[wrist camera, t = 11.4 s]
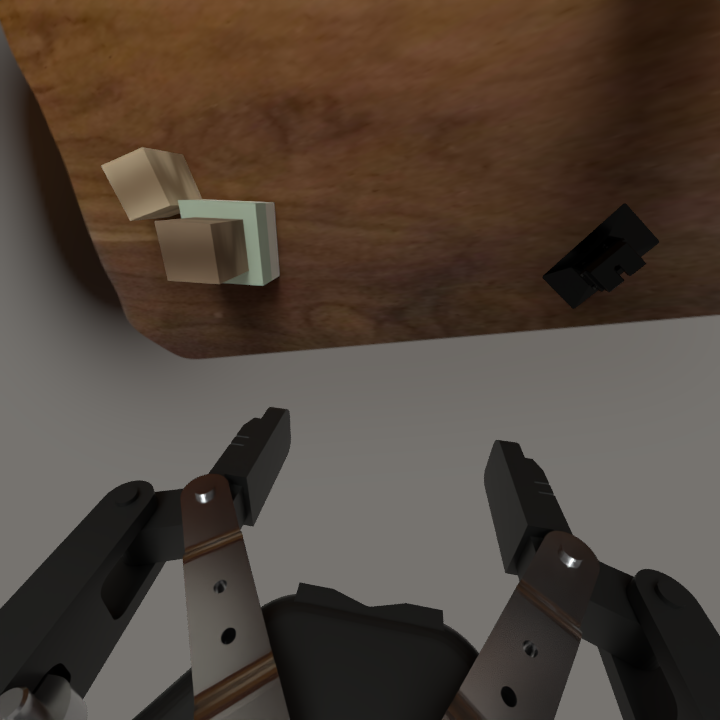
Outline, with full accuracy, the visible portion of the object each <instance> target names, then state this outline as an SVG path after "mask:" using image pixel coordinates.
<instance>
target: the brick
mask: <svg viewBox="0 0 720 720" xmlns="http://www.w3.org/2000/svg"><path fill="white" fill-rule="evenodd" d="M101 167H102V169H103V170H104V172H105V174H106V176H107V178H108V180H109V182H110V184H111V186H112V187H113V189H114V191H115V193H116V195H117V197H118V199H119V201H120V202H121V204H122V206H123V208H124V210H125V212H126V214H127V216H128V217H129V219H130V221H133V220H144V219H155V218H166V217H171V216H173V215H176V214H179V213H180V209H179V203H178V200H202V197H201V195H200V193H199V191H198V188H197V186H196V184H195V181H194V179H193V177H192V175H191V172H190V170H189V168H188V165H187V163H186V161H185V159H184V156H183V154H177V153H171V152H166V151H160V150H155V149H149V148H143V147H142V148H140V149H138V150H135V151H133V152H131V153H129V154H126V155H124V156H122V157H120V158H118V159H115V160H113V161H111V162H109V163H106V164H104V165H102V166H101Z"/></svg>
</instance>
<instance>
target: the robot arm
mask: <svg viewBox="0 0 720 720" xmlns="http://www.w3.org/2000/svg"><path fill="white" fill-rule="evenodd" d="M290 443H291V434H290V415H289V410H287V409H281V408H274V407H269V408H268V409H267V411H266V412H265V414H264V415H263V417H262V418H261V419H260V418H253V419H252V420H250V421H249V422H248V423H246V424H245V425H243V427H242V428H241V430H240V431H239V432H238V434H237V436H236V437H235V438H234V439H233V440H232V442H231V444H230V445H229V446H228V447H227V449H226V450H225V452H224V453H223V454H222V456H221V457H220V458H219V460H218V461H217V463H216V464H215V465H214V467H213V468H212V470H211V471H210V472H209V474H206V475H202V476H199V477H197V478H195V479H193V480H192V481H190V482H189V483H188V484H187V485H186V486H185V487H184V488H183V489H178V490H169V491H160V492H154V489H153V486H152V485H151V484H150V483H148V482H146V481H131V482H128V483H125V484H122V485H120V486H118V487H116V488H115V489H113V490H112V491H110V492H109V493H108V494H107V495H106V496H105V497H104V498H103V499H102V500H101V501H100V502H99V503H98V504H97V505H96V506H95V508H94V509H93V510H92V511H91V512H90V513H89V514H88V515H87V516H86V517H85V518H84V520H82V521H81V523H80V524H79V525H78V526H77V527H76V528H75V529H74V530H73V531H72V532H71V533H70V534H69V536H68V537H67V538H66V539H65V540H64V541H63V542H62V543H61V544H60V545H59V546H58V547H57V548H56V550H55V551H54V552H53V553H52V554H51V555H50V556H49V557H48V558H47V559H46V560H45V561H44V562H43V563H42V565H41V566H40V567H39V568H38V569H37V570H36V571H35V572H34V573H33V574H32V575H31V576H30V577H29V579H28V580H27V581H26V582H25V583H24V584H23V585H22V586H21V587H20V588H19V589H18V590H17V592H16V593H15V594H14V595H13V596H12V597H11V598H10V599H9V600H8V601H7V602H6V603H5V604H4V606H3V607H2V608H1V609H0V720H87V707H86V704H85V702H84V701H83V698H84V697H85V695H86V693H87V692H88V690H89V688H90V687H91V685H92V683H93V682H94V680H95V678H96V677H97V675H98V673H99V672H100V670H101V668H102V667H103V665H104V663H105V662H106V660H107V658H108V657H109V655H110V653H111V652H112V650H113V649H114V647H115V645H116V643H117V642H118V640H119V639H120V637H121V635H122V633H123V632H124V630H125V629H126V627H127V625H128V624H129V622H130V620H131V619H132V617H133V615H134V614H135V612H136V610H137V609H138V607H139V605H140V604H141V602H142V600H143V599H144V597H145V595H146V594H147V592H148V590H149V589H150V587H151V586H152V584H153V582H154V581H155V579H156V577H157V576H158V574H159V572H160V571H161V569H162V567H163V565H164V564H165V562H166V561H170V560H177V559H183V570H184V581H185V592H186V606H187V617H188V630H189V642H190V655H191V668H190V669H189V670H188V671H187V672H186V673H185V674H183V675H182V676H181V677H180V678H179V679H178V680H177V681H176V682H174V683H173V684H172V685H171V686H170V687H169V688H167V689H166V690H165V691H164V692H163V693H162V694H161V695H160V696H158V697H157V698H156V699H155V700H154V701H153V702H152V703H151V704H149V705H148V706H147V707H146V708H145V709H144V710H143V711H141V712H140V713H139V714H138V715H137V716H136V717H135V718H134V719H132V720H554V718H555V715H556V712H557V709H558V706H559V703H560V700H561V697H562V694H563V691H564V688H565V685H566V682H567V679H568V676H569V673H570V670H571V668H572V664H573V661H574V659H575V656H576V653H577V650H578V647H579V644H580V641H581V638H582V639H584V640H586V641H588V642H590V643H592V644H594V645H596V646H597V647H598V649H599V652H600V655H601V657H602V661H603V664H604V666H605V669H606V672H607V675H608V678H609V680H610V683H611V686H612V689H613V692H614V695H615V697H616V700H617V703H618V706H619V709H620V712H621V715H622V717H623V720H720V636H719V634H718V632H717V631H716V629H715V628H714V626H713V625H712V623H711V622H710V620H709V618H708V617H707V615H706V614H705V612H704V611H703V609H702V607H701V606H700V604H699V603H698V601H697V600H696V599H695V597H694V596H693V595H692V594H691V593H690V592H689V591H688V590H687V589H686V588H685V587H684V586H682V585H681V584H680V583H679V582H677V581H676V580H674V579H673V578H671V577H669V576H667V575H666V574H664V573H661V572H659V571H655V570H651V569H643V570H640V571H639V572H638V573H637V574H636V575H635V577H633V576H630V575H629V574H626V573H624V572H622V571H619V570H617V569H615V568H613V567H610V566H608V565H606V564H604V563H602V562H600V561H598V559H597V557H596V555H595V554H594V553H593V551H592V550H591V549H590V548H589V547H588V546H587V545H586V544H585V543H584V542H583V541H582V540H580V539H579V538H577V537H575V536H574V535H573V534H572V532H571V530H570V528H569V526H568V523H567V521H566V519H565V517H564V515H563V513H562V510H561V508H560V506H559V504H558V502H557V500H556V497H555V496H554V495H553V491H552V489H551V487H550V485H549V482H548V480H547V478H546V476H545V473H544V471H543V470H542V469H541V468H540V467H539V466H538V465H537V463H536V462H535V461H534V460H533V459H528V458H525V457H524V455H523V452H522V450H521V447H520V445H519V444H518V443H515V442H508V441H501V440H496V441H495V442H494V444H493V448H492V450H491V453H490V456H489V459H488V463H487V466H486V469H485V474H484V485H485V489H486V493H487V498H488V502H489V506H490V510H491V514H492V519H493V523H494V527H495V531H496V536H497V540H498V543H499V548H500V552H501V556H502V561H503V565H504V569H505V573H508V574H514V575H518V577H519V581H520V582H519V584H518V585H517V587H516V589H515V590H514V592H513V594H512V596H511V598H510V600H509V601H508V603H507V605H506V607H505V608H504V610H503V612H502V614H501V616H500V617H499V619H498V621H497V623H496V624H495V626H494V628H493V630H492V632H491V634H490V635H489V637H488V639H487V641H486V642H485V644H484V646H483V648H482V649H481V651H480V653H478V652H477V650H476V649H475V648H474V647H473V646H472V645H471V644H470V643H469V642H468V641H467V640H466V639H465V638H464V637H463V636H462V635H460V634H459V633H458V632H457V631H455V630H454V629H452V628H451V627H449V626H447V625H445V624H444V623H443V611H442V610H438V609H432V608H428V607H423V606H418V605H413V604H407V603H405V604H394V605H386V606H385V605H384V606H374V607H368V606H365V605H363V604H362V603H360V602H358V601H355V600H354V599H352V598H350V597H348V596H346V595H344V594H342V593H340V592H338V591H336V590H334V589H330V588H325V587H320V586H315V585H310V584H305V583H299V587H298V590H297V594H293V595H288V596H283V597H280V598H278V599H275V600H273V601H271V602H269V603H267V604H265V605H264V606H262V607H260V603H259V599H258V595H257V591H256V587H255V583H254V579H253V575H252V571H251V567H250V563H249V559H248V555H247V551H246V547H245V543H244V539H243V535H242V532H241V531H240V529H241V527H242V526H243V525H248V526H254V524H255V522H256V520H257V518H258V516H259V513H260V511H261V509H262V507H263V505H264V503H265V501H266V499H267V497H268V495H269V493H270V490H271V488H272V486H273V484H274V482H275V480H276V478H277V476H278V474H279V471H280V470H281V467H282V465H283V463H284V461H285V459H286V457H287V455H288V452H289V449H290Z"/></svg>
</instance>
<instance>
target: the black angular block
mask: <svg viewBox="0 0 720 720" xmlns="http://www.w3.org/2000/svg"><path fill="white" fill-rule="evenodd" d="M658 243H659V240H658V239H657V238H656V237H655V236H654V235H653V234H652V232H651V231H650V230H649V229H648V228H647V227H646V226H645V225H644V223H643V222H642V221H641V220H640V219H639V218H638V217H637V216H636V214H635V213H634V212H633V211H632V210H631V209H630V208H629V207H628V205H627V204H623V205H622V206H621V207H619V208H618V209H617V210H616V211H615V212H614V213H613V214H612V215H611V216H609V217H608V218H607V219H606V220H605V221H604V222H603V223H602V224H600V225H599V226H598V227H597V228H596V229H595V230H594V231H593V232H592V233H590V234H589V235H588V236H587V237H586V238H585V239H584V240H583V241H581V242H580V243H579V244H578V245H577V246H576V247H575V248H574V249H573V250H571V251H570V252H569V253H568V254H567V255H566V256H565V257H564V258H562V259H561V260H560V261H559V262H558V263H557V264H556V265H555V266H554V267H552V268H551V269H550V270H549V271H548V272H547V273H546V274H545V275H543V279H544V280H545V281H546V282H547V283H548V284H549V285H550V286H551V287H552V288H553V289H554V290H555V291H556V292H557V293H558V294H559V295H560V296H561V297H562V298H563V299H564V300H565V301H566V302H567V303H568V304H569V305H570V306H571V307H572V308H573V309H574V308H576V307H577V306H578V305H580V304H581V303H582V302H584V301H585V300H586V299H587V298H589V297H590V296H591V295H593V294H594V293H595V292H596V291H598V290H599V291H601V292H602V291H603V290H606V291H608V292H610V291H612V290H613V289H614V288H616V287H617V286H618V285H620V284H621V283H622V282H623V281H624V279H623V278H622V277H621V276H620V274H622V273H623V272H625V273H626V274H627V275H629V276H631V275H632V274H634V273H635V272H636V271H638V270H639V269H640V268H641V267H643V266H644V265H645V264H646V263H645V262H644V261H643V259H642V258H641V256H643V255H644V254H645V253H646V252H648V251H649V250H650V249H652V248H653V247H654V246H655V245H657V244H658Z"/></svg>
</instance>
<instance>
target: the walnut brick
mask: <svg viewBox="0 0 720 720" xmlns="http://www.w3.org/2000/svg"><path fill="white" fill-rule="evenodd" d="M154 222H155V226H156V231H157V235H158V240H159V244H160V248H161V253H162V257H163V261H164V266H165V270H166V275H167V279H168V281H181V282H195V283H209V284H221V283H223V282H226V281H228V280H230V279H232V278H234V277H236V276H239V275H241V274H243V273H245V272H247V271H249V267H248V258H247V250H246V241H245V233H244V224H243V219H224V218H203V217H192V218H182V219H171V220H161V221H154Z"/></svg>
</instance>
